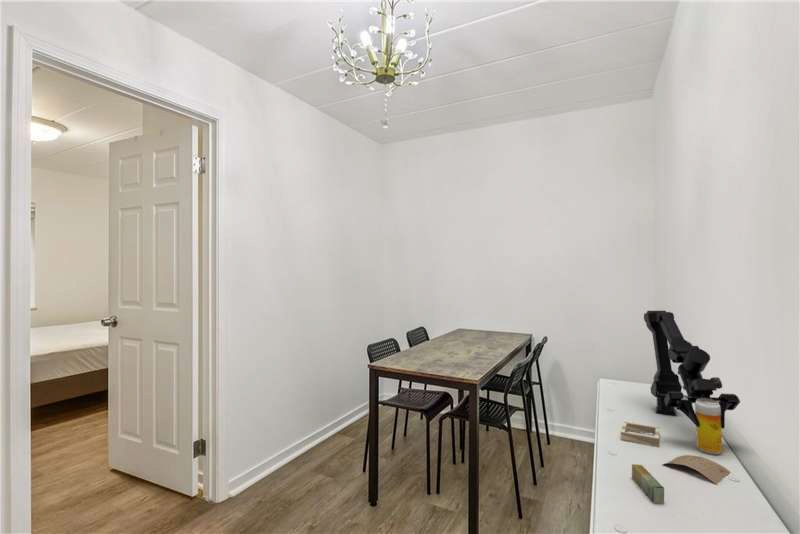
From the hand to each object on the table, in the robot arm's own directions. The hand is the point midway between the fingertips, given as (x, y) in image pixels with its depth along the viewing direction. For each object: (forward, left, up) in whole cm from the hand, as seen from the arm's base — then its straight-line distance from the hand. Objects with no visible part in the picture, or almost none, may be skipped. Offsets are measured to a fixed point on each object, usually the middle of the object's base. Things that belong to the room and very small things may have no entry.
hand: (710, 427), depth 118 cm
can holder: (-2, -18, -8) cm, 20 cm away
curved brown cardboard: (+14, -4, -9) cm, 17 cm away
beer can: (-1, -1, -8) cm, 8 cm away
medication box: (+32, -15, -8) cm, 37 cm away
